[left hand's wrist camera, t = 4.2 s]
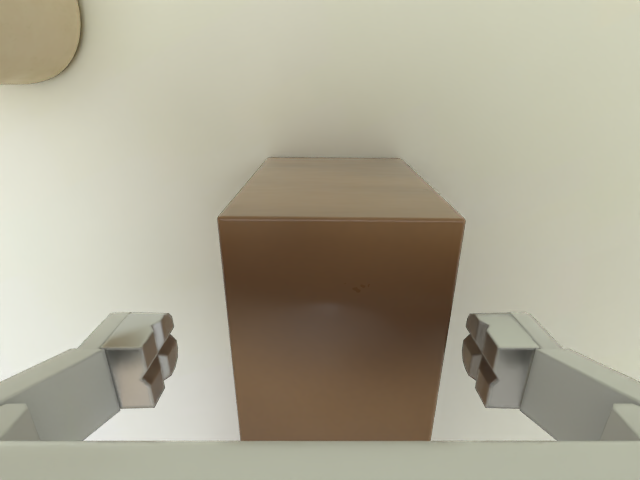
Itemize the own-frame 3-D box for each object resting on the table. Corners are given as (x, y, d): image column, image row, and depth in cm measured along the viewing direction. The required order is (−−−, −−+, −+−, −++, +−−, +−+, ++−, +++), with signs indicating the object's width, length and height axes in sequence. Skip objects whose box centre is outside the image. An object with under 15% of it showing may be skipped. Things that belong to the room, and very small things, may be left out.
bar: (267, 157, 16) (215, 217, 9) (401, 158, 16) (467, 219, 9) (285, 540, 27) (269, 722, 19) (368, 542, 27) (385, 725, 19)
